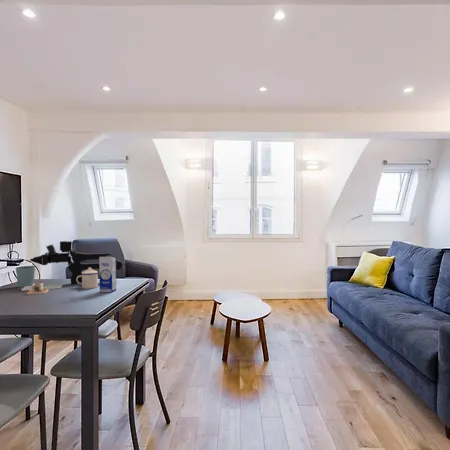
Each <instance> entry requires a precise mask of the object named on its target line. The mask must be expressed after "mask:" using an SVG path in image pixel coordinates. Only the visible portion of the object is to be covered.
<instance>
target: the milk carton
mask: <svg viewBox="0 0 450 450" xmlns="http://www.w3.org/2000/svg"><path fill="white" fill-rule="evenodd" d="M112 256H113V255H112ZM112 256H106V257H99V259H98V261H99V262H98V263H99V264H100V269H99V293H102V294H103V293H104V294H105V293H108V294H109V293H111V294H112V293H114V292H116V291H117V270H116V259H117V258H115V257H114V256H113V257H112Z"/></svg>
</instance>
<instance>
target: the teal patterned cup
mask: <svg viewBox="0 0 450 450" xmlns="http://www.w3.org/2000/svg"><path fill="white" fill-rule="evenodd" d="M35 271H36V266H35V265H24V266H16V267H15V272H16V281H17V283H16V284H17V288H24V287H25V286H32V285H33V284H35Z"/></svg>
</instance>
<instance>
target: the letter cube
mask: <svg viewBox="0 0 450 450" xmlns="http://www.w3.org/2000/svg"><path fill="white" fill-rule="evenodd" d="M43 288H44V283H43V282H42V283H40V282H39V283H34V284H33V285H32V293H35V292H43Z"/></svg>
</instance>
